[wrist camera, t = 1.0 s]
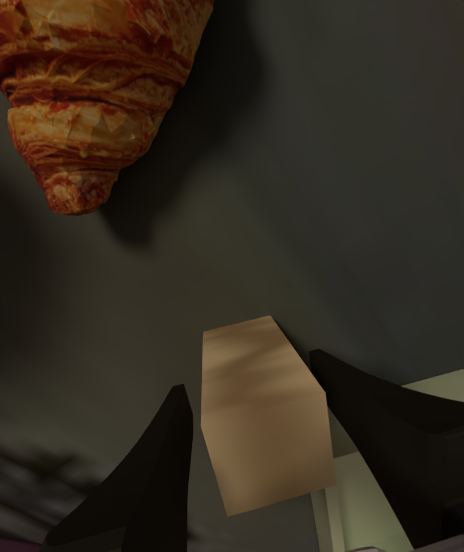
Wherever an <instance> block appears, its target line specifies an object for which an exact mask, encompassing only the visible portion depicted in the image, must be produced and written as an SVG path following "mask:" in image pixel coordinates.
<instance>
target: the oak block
mask: <svg viewBox="0 0 464 552" xmlns="http://www.w3.org/2000/svg"><path fill="white" fill-rule="evenodd" d="M201 428H202V431H203V435H204V438H205V442H206V445H207V448H208V452H209V455H210V459H211V462H212V465H213V469H214V472H215V476H216V479H217V482H218V486H219V489H220V493H221V496H222V499H223V503H224V506H225V510H226V513H227V516H228V517H230V516H233V515H237V514H240V513H243V512H247V511H250V510H253V509H257V508H260V507H264V506H267V505H270V504H274V503H277V502H281V501H284V500H287V499H291V498H294V497H297V496H301V495H304V494H308V493H311V492H314V491H318V490H321V489H325V488H328V487H331V486H335V485H336V477H335V468H334V460H333V452H332V443H331V435H330V426H329V418H328V410H327V401H326V393H325V392H324V390H323V389H322V387H321V386H320V385H319V383H318V382H317V380H316V379H315V377H314V376H313V375H312V373H311V372H310V370H309V369H308V368H307V366H306V365H305V363H304V362H303V361H302V359H301V358H300V356H299V355H298V354H297V352H296V351H295V349H294V348H293V347H292V345H291V344H290V342H289V341H288V340H287V338H286V337H285V335H284V334H283V333H282V331H281V330H280V328H279V327H278V325H277V324H276V323H275V321H274V320H273V318H272V317H271V316H267V317H263V318H258V319H254V320H250V321H246V322H242V323H238V324H234V325H229V326H225V327H221V328H217V329H213V330H209V331H204V332H203V362H202V404H201Z"/></svg>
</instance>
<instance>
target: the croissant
mask: <svg viewBox="0 0 464 552" xmlns="http://www.w3.org/2000/svg"><path fill="white" fill-rule="evenodd" d="M213 2H214V0H0V90H1V92H2V93H3V94H4V95H5V97H6V98H7V99H8V100H9V102H10V103H11V106H12V109H9V110H8V126H9V132H10V135H11V138H12V141H13V144H14V146H15V148H16V149H17V151H18V152H19V154H20V155H21V157H22V158H23V160H24V161H25V163H26V164H27V166H28V167H29V168H30V170H31V171H32V172H33V174H34V176H35V178H36V180H37V182H38V184H39V186H40V187H41V188H42V189H43V190H44V192H45V197H46V201H47V203H48V206H49V208H50V210H52V211H53V212H55V213H58V214H64V215H76V216H79V215H83V214H88V213H91V212H93V211H95V210H97V209H98V208H99V207H100V205H101V204H103V203H106V202H107V200H108V198H109V196H110V194H111V188H112V186H113V184H114V182H115V181H117V178H118V175H119V172H120V169H121V168H124V167H127V166H129V165H131V164H133V163H135V161H136V160H138V159H139V158H140V157H141V156H143V155H144V154H145V153H146V152H147V151H148V150H149V148H150V146H151V144H152V141H153V139H154V138H155V136H156V135H157V132H158V129H159V126H160V124H161V122H162V120H163V118H164V116H165V113H166V112H167V110H168V109H169V108H170V107H171V106H172V103H173V99H174V95H175V94H176V92H177V91H178V90H179V89H181V88H182V87H184V85H185V83H186V81H187V78H188V76H189V73H190V71H191V68H192V65H193V62H194V56H195V54H196V51H197V49H198V47H199V44H200V40H201V36H202V33H203V31H204V29H205V26H206V24H207V22H208V20H209V18H210V15H211V13H212V11H213Z"/></svg>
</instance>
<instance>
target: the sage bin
mask: <svg viewBox="0 0 464 552" xmlns="http://www.w3.org/2000/svg"><path fill="white" fill-rule="evenodd" d="M402 387H405V388H408V389H412V390H415V391H418V392H422V393H426V394H430V395H434V396H438V397H442V398H447V399H451V400H456V401H462V402H464V369H462V370H458V371H454V372H451V373H447V374H443V375H440V376H436V377H432V378H429V379H425V380H421V381H418V382H414V383H410V384H406V385H403V386H402ZM327 410H328V418H329V426H330V435H331V443H332V452H333V460H334V468H335V477H336V485H335V486H331V487H328V488H325V489H321V490H318V491H314V492H311V500H312V506H313V512H314V518H315V525H316V531H317V537H318V543H319V550H320V552H347V551H350V550H353V549H356V548H362V547H369V546H374V547H376V548H379V549H382V550H384V551H386V552H409V551H412V550H414V549H413V547H412V545H411V543H410V541H409V539H408V537H407V536H406V534H405V532H404V530H403V528H402V526H401V524H400V522H399V521H398V519H397V517H396V515H395V513H394V512H393V510H392V508H391V506H390V504H389V503H388V501H387V499H386V497H385V495H384V493H383V492H382V490H381V488H380V486H379V485H378V483H377V481H376V480H375V478H374V476H373V474H372V473H371V471H370V469H369V467H368V466H367V464H366V462H365V461H364V459H363V457H362V456H361V454H360V452H359V451H358V449H357V447H356V446H355V444H354V443H353V441H352V440H351V438H350V437H349V435H348V434H347V433H346V431H345V430H344V428H343V427H342V426H341V424H340V423H339V421H338V420H337V419H336V417H335V416H334V415H333V413H332V412H331V410H330V409H329V408H328V406H327Z"/></svg>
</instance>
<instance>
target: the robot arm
mask: <svg viewBox="0 0 464 552" xmlns="http://www.w3.org/2000/svg"><path fill="white" fill-rule="evenodd" d="M309 355H310V363H311V370H312V375H313V376H314V377H315V379H316V380H317V382H318V383H319V385H320V386H321V387H322V389H323V390H324V392H325V393H326V401H327V406H328V408H329V409H330V410H331V412H332V413H333V415H334V416H335V417H336V419H337V420H338V421H339V423H340V424H341V426H342V427H343V428H344V430H345V431H346V433H347V434H348V435H349V437H350V438H351V440H352V441H353V443H354V444H355V446H356V447H357V449H358V451H359V452H360V454H361V456H362V457H363V459H364V461H365V462H366V464H367V466H368V467H369V469H370V471H371V473H372V474H373V476H374V478H375V480H376V481H377V483H378V485H379V486H380V488H381V490H382V492H383V493H384V495H385V497H386V499H387V501H388V503H389V504H390V506H391V508H392V510H393V512H394V513H395V515H396V517H397V519H398V521H399V522H400V524H401V526H402V528H403V530H404V532H405V534H406V536H407V537H408V539H409V541H410V543H411V545H412V547H413V549H414V550H412V551H409V552H464V402H462V401H456V400H451V399H447V398H442V397H438V396H434V395H430V394H426V393H422V392H418V391H415V390H412V389H408V388H405V387H402V386H399V385H396V384H393V383H390V382H388V381H385V380H382V379H380V378H377V377H375V376H372V375H370V374H368V373H366V372H363V371H361V370H359V369H357V368H355V367H353V366H351V365H349V364H347V363H345V362H343V361H341V360H339V359H337V358H335V357H334V356H332V355H330V354H328V353H326V352H324V351H322V350H320V349H317V350H313V351H309ZM192 441H193V413H192V410H191V406H190V403H189V400H188V396H187V393H186V390H185V386H184V384H181V385H177V386H173V387H172V388H171V390H170V392H169V393H168V395H167V397H166V399H165V400H164V402H163V404H162V405H161V407H160V409H159V410H158V412H157V414H156V415H155V417H154V418H153V420H152V421H151V423H150V424H149V426H148V427H147V429H146V430H145V432H144V433H143V435H142V436H141V438H140V439H139V440H138V442H137V443H136V444H135V446H134V447H133V448H132V449H131V451H130V452H129V453H128V454H127V456H126V457H125V458H124V459H123V460H122V461H121V463H120V464H119V465H118V466H117V467H116V468H115V469H114V470H113V472H112V473H111V474H110V475H109V476H108V477H107V478H106V479H105V480H104V481H103V482H102V483H101V484H100V485H99V486H98V488H97V489H96V490H95V491H94V492H93V493H91V494H90V495H89V496H88V497H87V498H86V499H85V500H84V501H83V502H82V503H81V504H80V505H79V506H78V507H77V508H76V509H75V510H73V511H72V512H71V513H70V514H69V515H68V516H67V517H66V518H64V519H63V520H62V521H61V522H60V523H59V524H58V525H57V526H55V527H54V528H53V529H52V530H51V531H50V532H48V534H47V535H46V537H45V539H44V541H43V543H42V545H41V547H40V548H39V550H38V552H187V497H188V482H189V472H190V462H191V451H192ZM347 552H386V551H384V550H382V549H379V548H376V547H374V546H369V547H362V548H356V549H353V550H350V551H347Z"/></svg>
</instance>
